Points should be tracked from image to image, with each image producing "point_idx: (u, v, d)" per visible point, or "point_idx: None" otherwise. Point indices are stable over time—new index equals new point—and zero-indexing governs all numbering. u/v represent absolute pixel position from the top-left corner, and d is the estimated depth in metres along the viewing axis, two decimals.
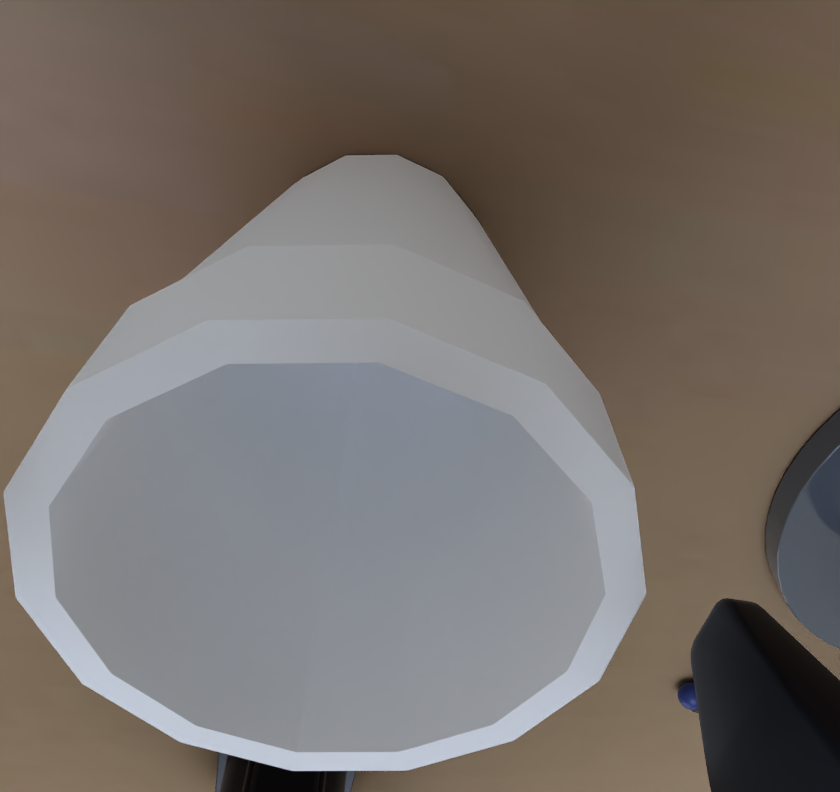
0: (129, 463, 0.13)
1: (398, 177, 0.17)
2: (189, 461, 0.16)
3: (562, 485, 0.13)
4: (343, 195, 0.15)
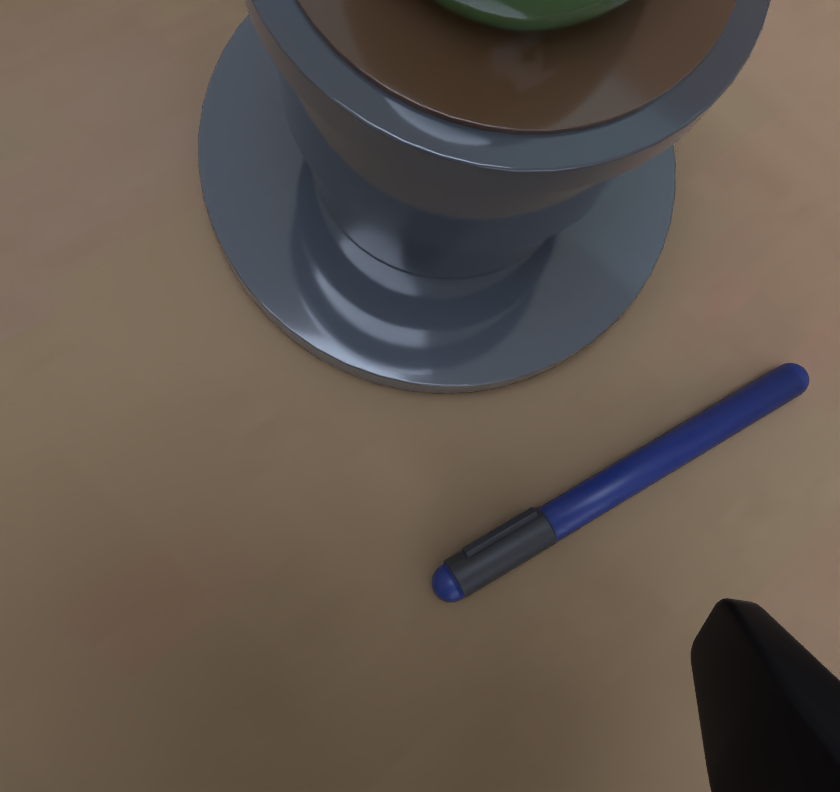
0: None
1: None
2: None
3: None
4: None
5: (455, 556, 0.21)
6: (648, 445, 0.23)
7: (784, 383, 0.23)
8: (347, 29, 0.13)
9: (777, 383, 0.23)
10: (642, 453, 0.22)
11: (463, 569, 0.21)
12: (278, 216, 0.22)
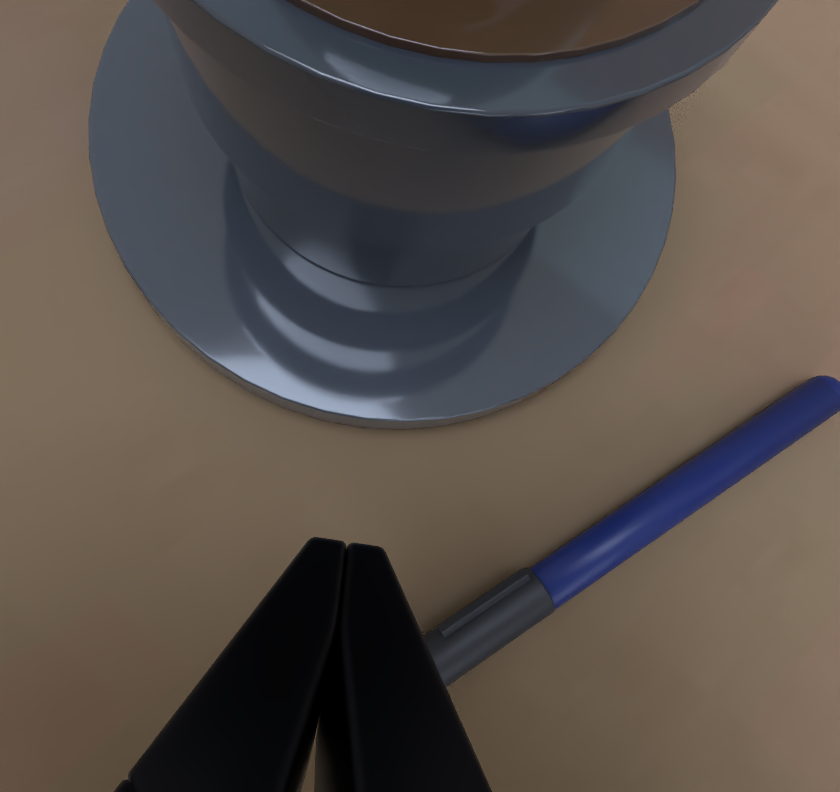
0: None
1: None
2: None
3: None
4: None
5: (429, 635, 0.17)
6: (660, 483, 0.18)
7: (818, 400, 0.19)
8: None
9: (810, 400, 0.19)
10: (654, 493, 0.18)
11: (439, 653, 0.17)
12: (191, 216, 0.18)
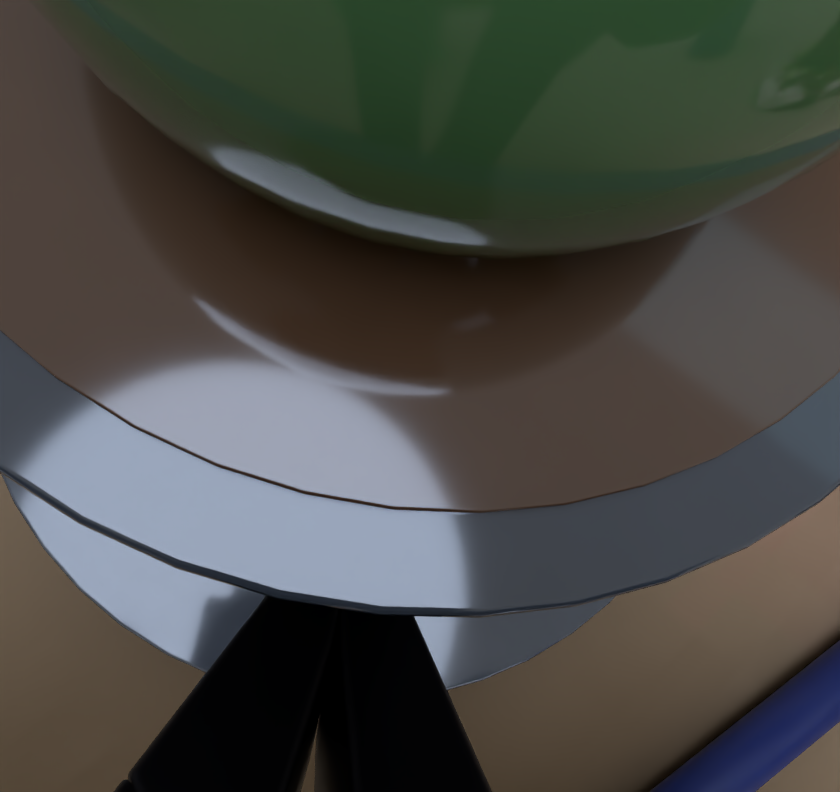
0: None
1: None
2: None
3: None
4: None
5: None
6: (702, 761, 0.15)
7: None
8: (22, 264, 0.05)
9: None
10: (695, 780, 0.14)
11: None
12: None
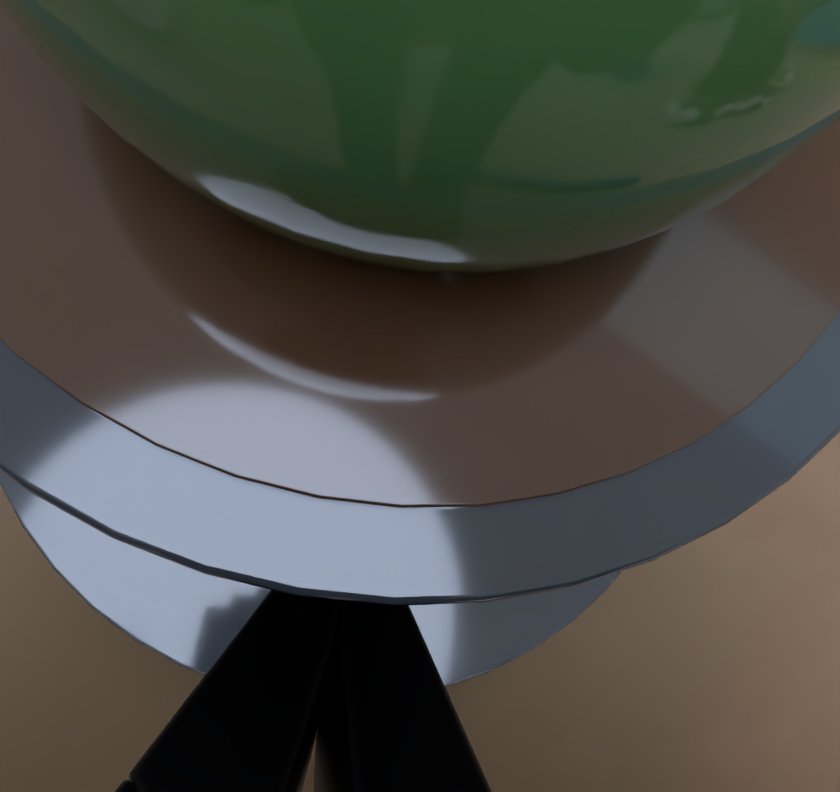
0: None
1: None
2: None
3: None
4: None
5: None
6: None
7: None
8: (44, 301, 0.05)
9: None
10: None
11: None
12: None
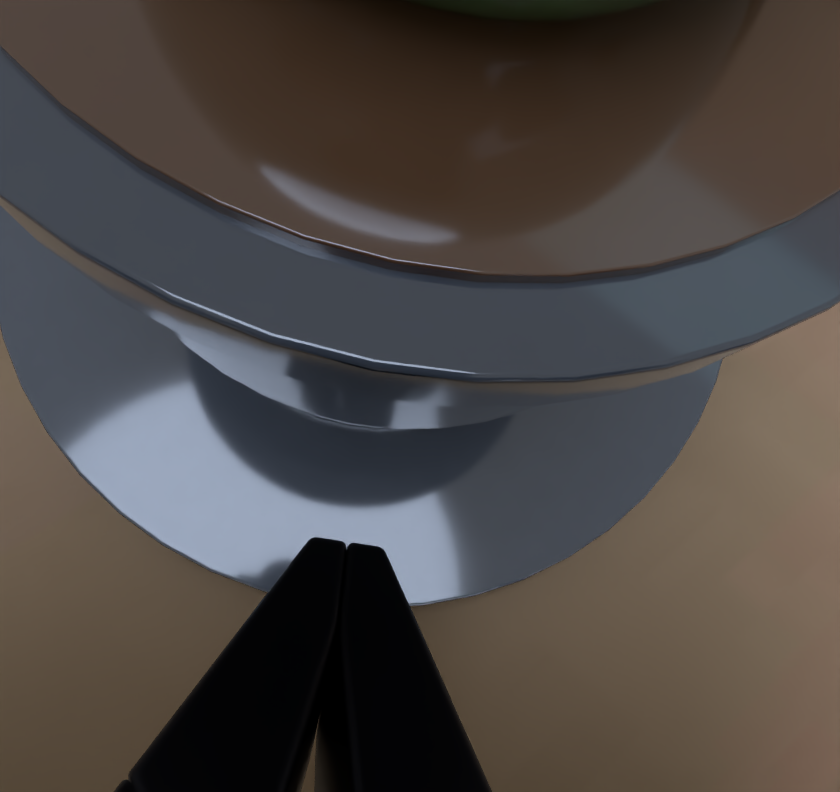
0: None
1: None
2: None
3: None
4: None
5: None
6: None
7: None
8: (93, 50, 0.05)
9: None
10: None
11: None
12: (129, 358, 0.14)
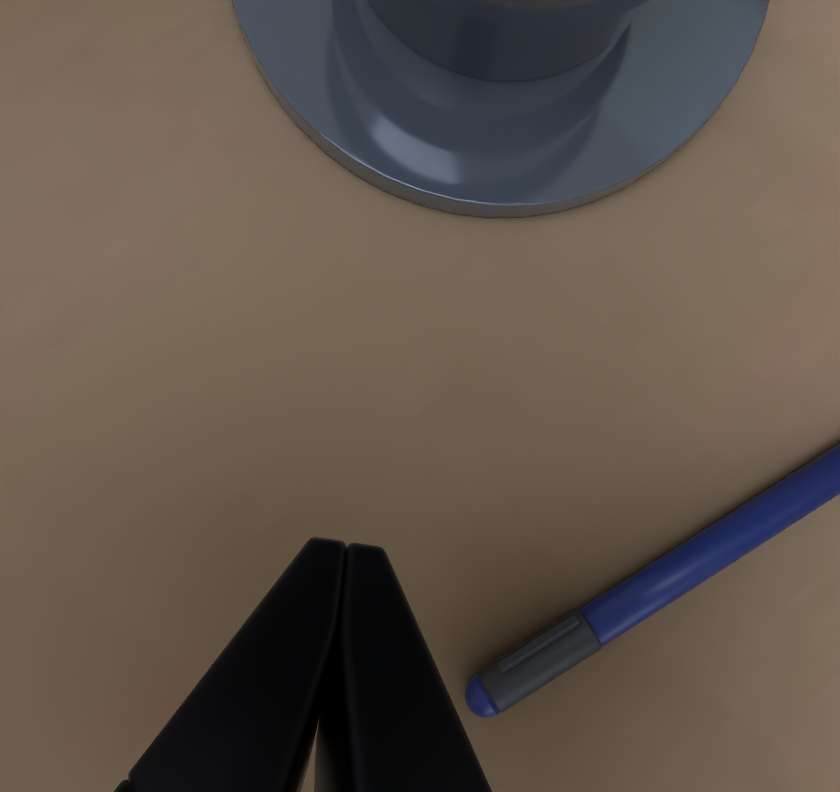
0: None
1: None
2: None
3: None
4: None
5: (490, 668, 0.20)
6: (705, 534, 0.20)
7: None
8: None
9: None
10: (698, 545, 0.20)
11: (498, 687, 0.19)
12: (323, 29, 0.19)
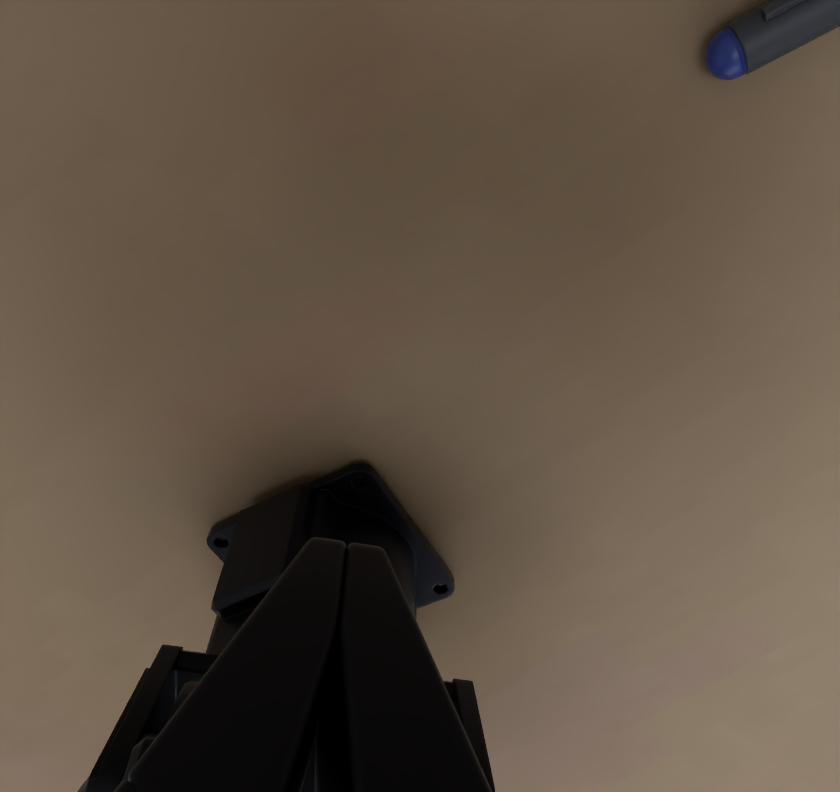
0: None
1: None
2: None
3: None
4: None
5: (747, 17, 0.16)
6: None
7: None
8: None
9: None
10: None
11: (756, 37, 0.16)
12: None
